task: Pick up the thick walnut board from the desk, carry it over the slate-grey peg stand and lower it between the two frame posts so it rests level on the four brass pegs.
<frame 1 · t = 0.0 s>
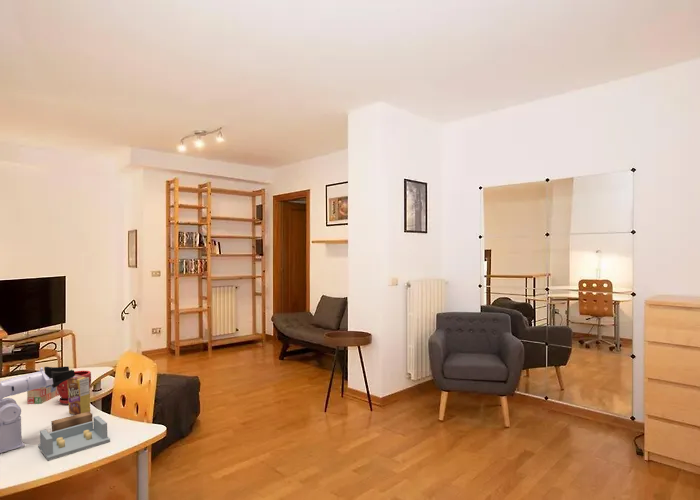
hand: (71, 371, 162), 22 cm above the table, tool horizontal, fingers open, 7 cm apart
board: (72, 433, 158), on the table
plant pot: (74, 401, 193), on the table
stack of blocks: (51, 396, 201), on the table
candy box: (79, 414, 177), on the table
peg stand: (74, 444, 149), on the table
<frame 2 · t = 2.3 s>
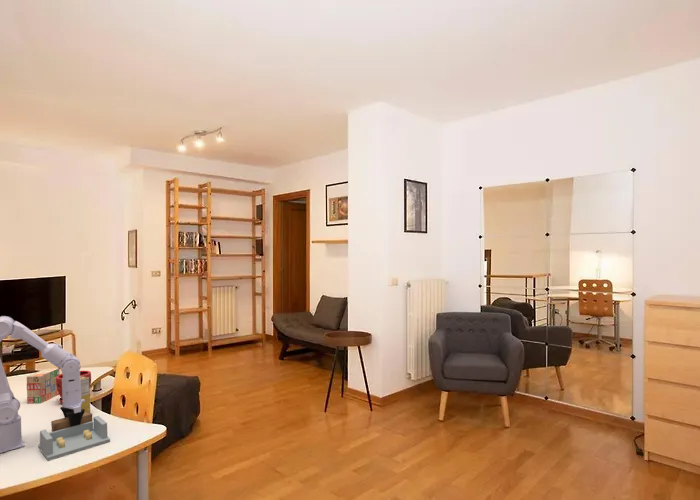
hand: (73, 427, 158), 2 cm above the table, tool pointing down, fingers open, 6 cm apart
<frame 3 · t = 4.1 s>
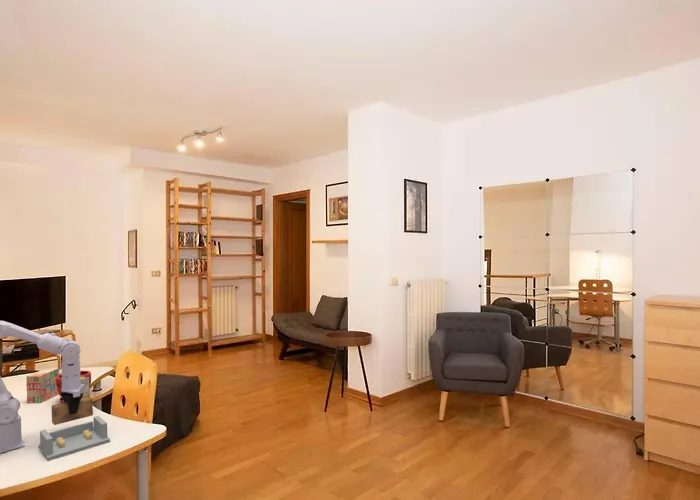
hand: (71, 412, 158), 8 cm above the table, tool pointing down, fingers closed on board, 4 cm apart
board: (72, 418, 158), point 5 cm above the table, touching gripper
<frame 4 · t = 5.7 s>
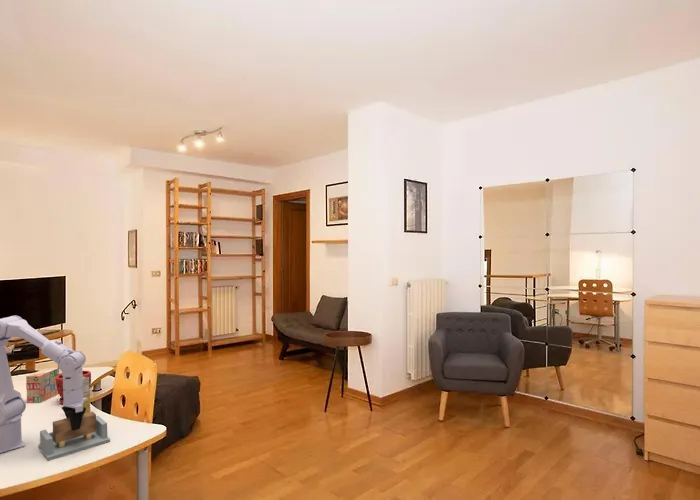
hand: (74, 427, 149), 6 cm above the table, tool pointing down, fingers closed on board, 4 cm apart
board: (75, 435, 149), point 3 cm above the table, touching gripper, peg stand
when the fingers open (5 cm above the table, at t = 6.2 s): board stays where it is, resting on peg stand.
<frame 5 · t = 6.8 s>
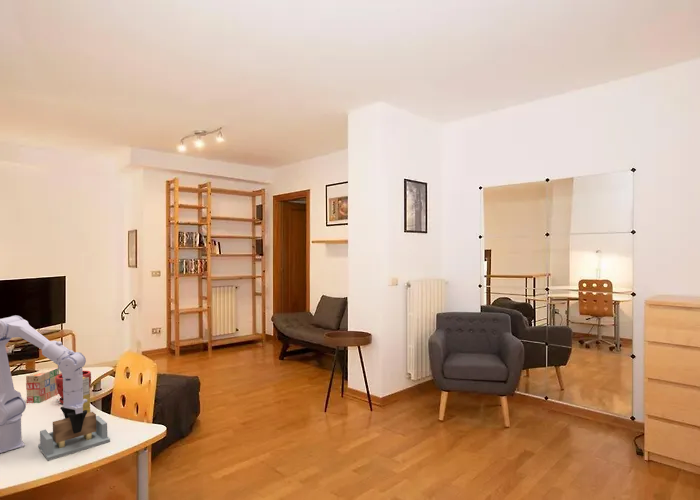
hand: (74, 429, 149), 5 cm above the table, tool pointing down, fingers open, 7 cm apart
board: (75, 435, 149), point 3 cm above the table, touching peg stand
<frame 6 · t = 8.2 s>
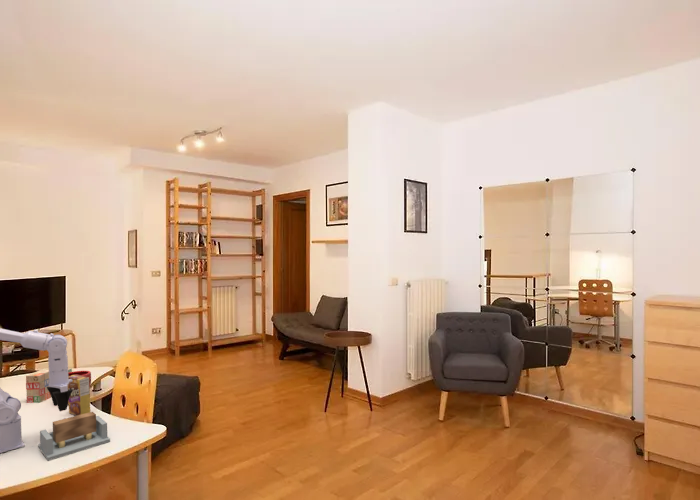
hand: (60, 407, 156), 10 cm above the table, tool pointing down, fingers open, 7 cm apart
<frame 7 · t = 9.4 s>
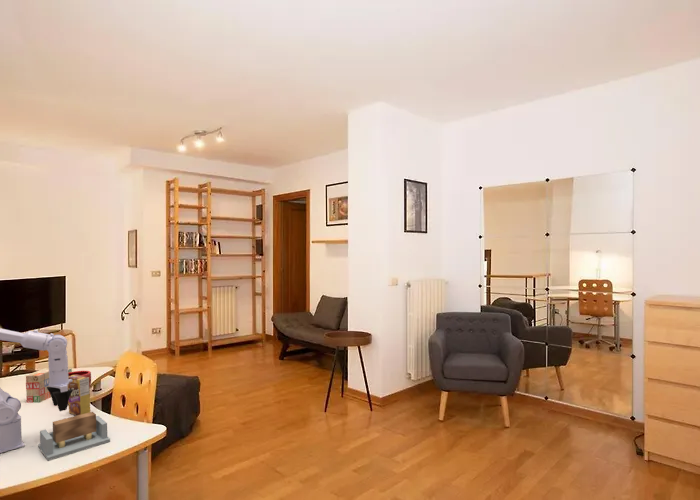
hand: (60, 407, 156), 10 cm above the table, tool pointing down, fingers open, 7 cm apart
at the end: board 0.2 cm off-centre on the peg stand, point 3.0 cm above the peg stand's base; board tilted 0°; the gripper is holding nothing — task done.
